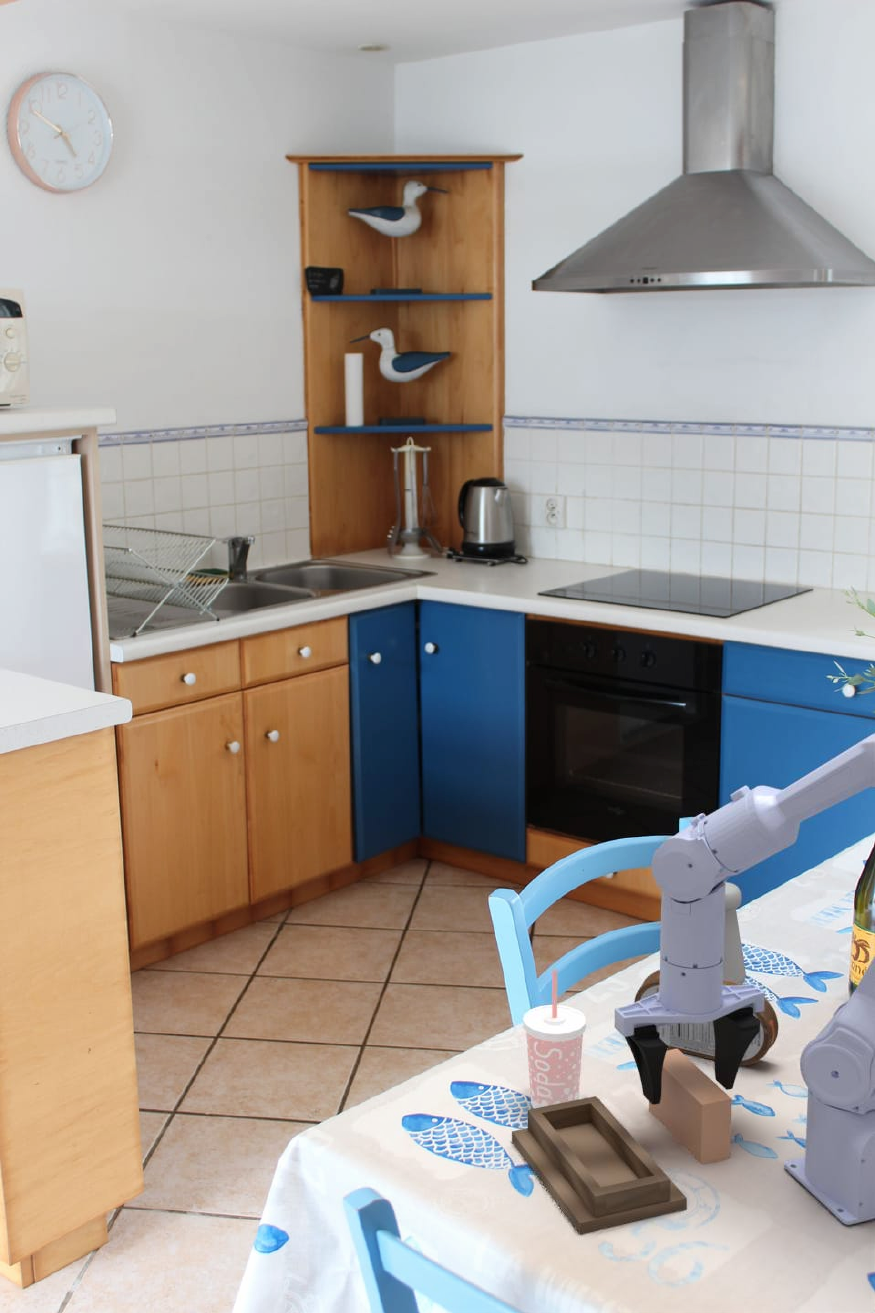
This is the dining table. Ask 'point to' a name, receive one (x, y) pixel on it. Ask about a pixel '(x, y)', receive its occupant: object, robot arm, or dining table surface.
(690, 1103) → the tan rectangular block
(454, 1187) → the dining table surface
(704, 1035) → the tin
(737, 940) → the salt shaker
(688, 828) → the robot arm
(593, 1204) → the tray
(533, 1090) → the beverage cup
